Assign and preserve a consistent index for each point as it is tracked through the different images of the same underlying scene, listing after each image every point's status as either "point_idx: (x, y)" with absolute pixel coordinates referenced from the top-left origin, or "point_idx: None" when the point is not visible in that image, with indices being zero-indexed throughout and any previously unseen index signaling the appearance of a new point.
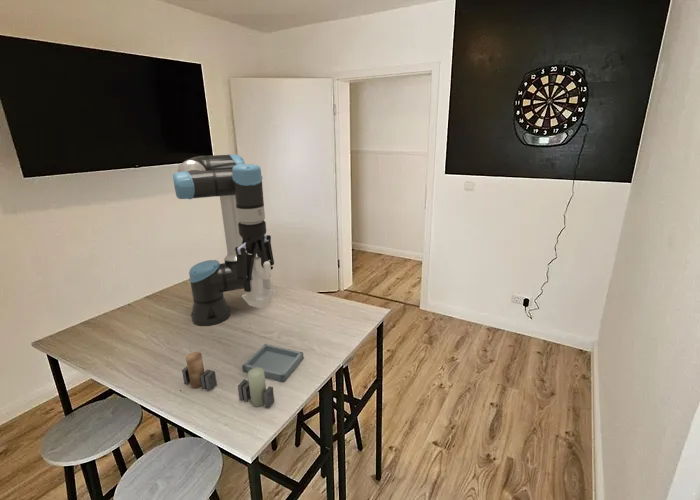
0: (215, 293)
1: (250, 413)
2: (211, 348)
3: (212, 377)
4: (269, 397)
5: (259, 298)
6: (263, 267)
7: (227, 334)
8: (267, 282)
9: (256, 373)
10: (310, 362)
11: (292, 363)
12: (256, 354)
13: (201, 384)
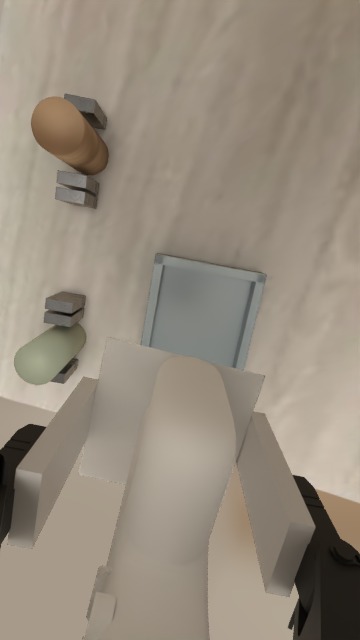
0: None
1: (32, 332)
2: (249, 93)
3: (75, 203)
4: None
5: (99, 457)
6: (316, 562)
7: (335, 105)
8: (247, 487)
9: (32, 367)
10: None
11: None
12: (210, 271)
13: (77, 170)
